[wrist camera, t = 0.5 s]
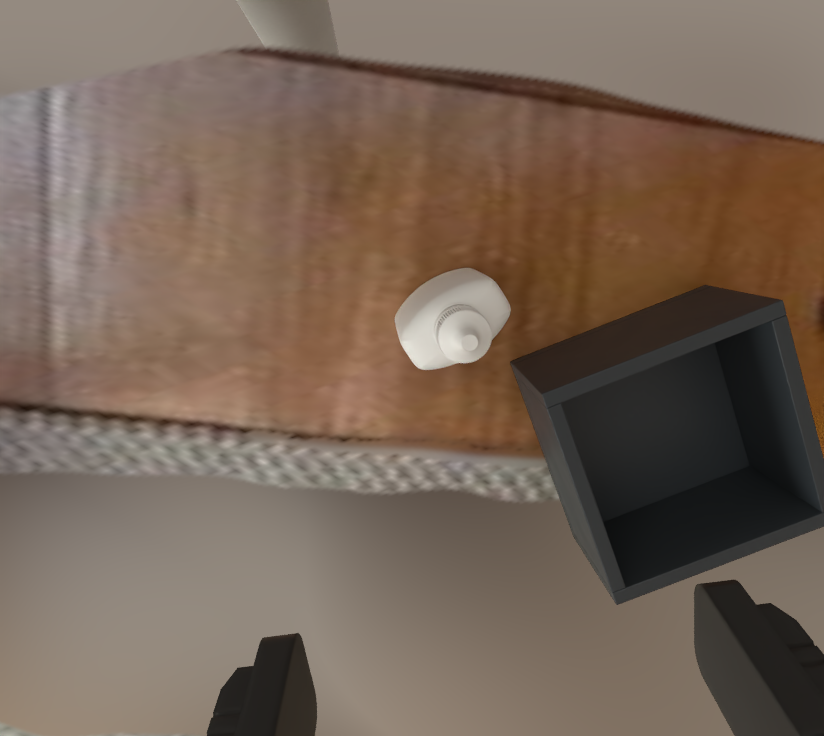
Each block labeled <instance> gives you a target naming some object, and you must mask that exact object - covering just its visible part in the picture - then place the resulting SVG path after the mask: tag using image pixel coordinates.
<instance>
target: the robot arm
mask: <svg viewBox="0 0 824 736" xmlns="http://www.w3.org/2000/svg"><path fill="white" fill-rule="evenodd" d="M694 634H695V635H694V645H695V653H696V658H697V662H698V665H699V669H700V671H701V674H702V676H703V678H704V680H705V682H706V684H707V686H708V688H709V689H710V691H711V693H712V695H713V697H714V699H715V701H716V702H717V704H718V706H719V708H720V710H721V712H722V713H723V715H724V717H725V719H726V721H727V723H728V724H729V726H730V728H731V730H732V732H733V733H734V735H735V736H824V654H823V653H822V652H821V650H820V649H819V648H818V647H817V646H815V645H814V643H813V640H812V639H811V638H810V637H809V636H808V634H807V633H806V632H805V630H804V629H803V628H802V627H801V626H800V624H799V623H798V622H797V621H796V620H795V619H794V618H792V617H791V616H789V615H788V614H786V613H785V612H783V611H782V610H780V609H779V608H777V607H776V606H774V605H773V604H771V603H768V604H760V605H756V604H755V603H754V601H753V600H752V599H751V597H750V596H749V595H748V593H747V592H746V591H745V589H744V588H743V586H742V585H741V584H740V583H739V582H738V581H736V580H728V581H720V582H712V583H704V584H697V585H696V587H695V592H694ZM316 720H317V703H316V694H315V689H314V685H313V681H312V677H311V673H310V669H309V665H308V661H307V657H306V653H305V648H304V645H303V641H302V638H301V636H300V634H299V633H296V634H288V635H280V636H272V637H264V638H262V640H261V642H260V645H259V648H258V652H257V655H256V659H255V662H254V666H249V667H241V668H237V670H236V671H235V672H234V673H233V675H232V676H231V677H230V678H229V680H228V681H227V682H226V684H225V685H224V686H223V687H222V689H221V691H220V694H219V697H218V700H217V703H216V706H215V709H214V712H213V718H211V721H210V724H209V728H208V730H207V736H315V728H316Z"/></svg>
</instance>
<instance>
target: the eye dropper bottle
mask: <svg viewBox="0 0 824 736" xmlns="http://www.w3.org/2000/svg"><path fill="white" fill-rule="evenodd" d="M510 312H511V308H510V304H509V302H508V300H507V299H506V297H505V295H504V294H503V292H502V290H501V289H500V287H499V286H498V285H497V283H496V282H495V281H494V280H493V279H491V278H490V277H488V276H486V275H485V274H483V273H481V272H479V271H477V270H475V269H472V268H460V269H456V270H452V271H449V272H446V273H443V274H440V275H438V276H436V277H434V278H432V279H430V280H429V281H427V282H425V283H424V284H423V285H421V286H420V287H419V288H417V289H416V290H415V291H414V292H413V293H412V294H411V295H410V296H409V297H408V298H407V299H406V300H405V302H404V303H403V304H402V305H401V307H400V308H399V310H398V311H397V313H396V315H395V324H396V329H397V333H398V337H399V340H400V343H401V345H402V347H403V349H404V350H405V352H406V353H407V355H408V356H409V358H410V359H411V361H412V362H413V363H414V365H415V366H417V367H418V368H419V369H422V370H432V369H439V368H443V367H447V366H451V365H453V364H456V363H466V364H467V363H470V362H473V361H474V362H475V361H476V360H478V359H480V357H482V356H483V355H485V353H486V351H488V349H489V346H491V345H490V344H491V341H492V339H493V338H494V337H495V336H496V335H497V334H498V333H499V331H500V330H501V329H502V327H503V326H504V324H505V323H506V321H507V320H508V318H509V316H510Z"/></svg>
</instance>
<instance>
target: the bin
mask: <svg viewBox="0 0 824 736" xmlns="http://www.w3.org/2000/svg"><path fill="white" fill-rule="evenodd" d="M510 363H511V366H512V369H513V372H514V374H515V377H516V380H517V383H518V385H519V388H520V391H521V394H522V396H523V399H524V402H525V405H526V407H527V410H528V413H529V416H530V418H531V421H532V424H533V427H534V429H535V432H536V435H537V437H538V440H539V443H540V446H541V448H542V451H543V454H544V457H545V459H546V462H547V465H548V468H549V470H550V473H551V476H552V479H553V481H554V484H555V487H556V490H557V492H558V495H559V498H560V501H561V503H562V506H563V509H564V512H565V514H566V517H567V520H568V522H569V525H570V528H571V531H572V534H573V536H574V538H575V540H576V542H577V543H578V545H579V546H580V548H581V549H582V551H583V553H584V554H585V556H586V557H587V559H588V560H589V562H590V564H591V565H592V567H593V568H594V570H595V572H596V573H597V575H598V576H599V578H600V580H601V581H602V583H603V584H604V586H605V587H606V589H607V591H608V592H609V594H610V595H611V597H612V599H613V600H614V602H615V603H616V604H617V605H618V604H621V603H623V602H626V601H629V600H631V599H634V598H637V597H639V596H642V595H645V594H647V593H650V592H652V591H655V590H658V589H660V588H663V587H665V586H668V585H671V584H674V583H676V582H679V581H681V580H684V579H687V578H689V577H692V576H694V575H697V574H700V573H702V572H705V571H708V570H710V569H713V568H716V567H718V566H721V565H724V564H726V563H729V562H731V561H734V560H737V559H739V558H742V557H744V556H747V555H750V554H752V553H755V552H758V551H760V550H763V549H765V548H768V547H771V546H774V545H776V544H779V543H781V542H784V541H787V540H789V539H792V538H795V537H797V536H800V535H802V534H805V533H808V532H810V531H813V530H816V529H818V528H821V527H823V526H824V458H823V455H822V451H821V447H820V443H819V439H818V435H817V431H816V427H815V423H814V420H813V416H812V412H811V408H810V404H809V400H808V396H807V392H806V389H805V385H804V381H803V377H802V373H801V369H800V365H799V361H798V358H797V354H796V350H795V346H794V342H793V338H792V334H791V330H790V327H789V323H788V319H787V316H786V311H785V307H784V303H783V300H779V299H774V298H769V297H764V296H758V295H753V294H748V293H743V292H738V291H733V290H728V289H723V288H718V287H713V286H708V285H704V286H701V287H699V288H696V289H694V290H691V291H689V292H686V293H684V294H681V295H679V296H676V297H673V298H671V299H668V300H666V301H663V302H661V303H658V304H656V305H653V306H650V307H648V308H645V309H643V310H640V311H638V312H635V313H633V314H630V315H628V316H625V317H622V318H620V319H617V320H615V321H612V322H610V323H607V324H605V325H602V326H600V327H597V328H594V329H592V330H589V331H587V332H584V333H582V334H579V335H577V336H574V337H571V338H569V339H566V340H564V341H561V342H559V343H556V344H554V345H551V346H549V347H546V348H543V349H541V350H538V351H536V352H533V353H531V354H528V355H526V356H523V357H521V358H518V359H515V360H513V361H511V362H510Z"/></svg>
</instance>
